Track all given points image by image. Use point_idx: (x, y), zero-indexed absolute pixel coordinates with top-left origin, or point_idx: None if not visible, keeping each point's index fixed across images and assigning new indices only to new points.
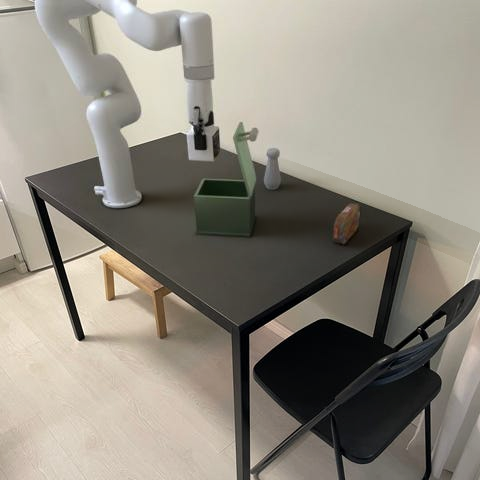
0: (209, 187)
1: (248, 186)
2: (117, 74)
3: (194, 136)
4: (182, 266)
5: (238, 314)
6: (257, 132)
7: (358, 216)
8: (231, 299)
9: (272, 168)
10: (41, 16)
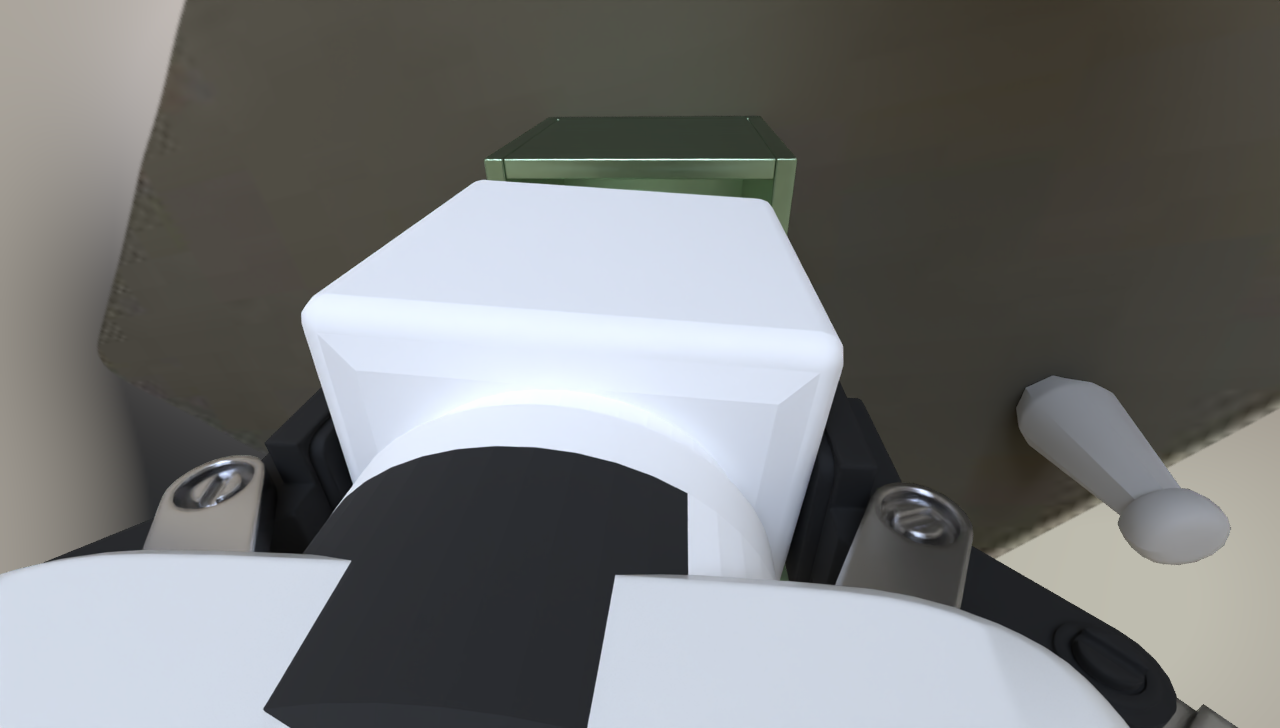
0: (762, 196)
1: None
2: None
3: (292, 432)
4: (263, 115)
5: (130, 357)
6: None
7: None
8: (180, 331)
9: (1082, 470)
10: None
